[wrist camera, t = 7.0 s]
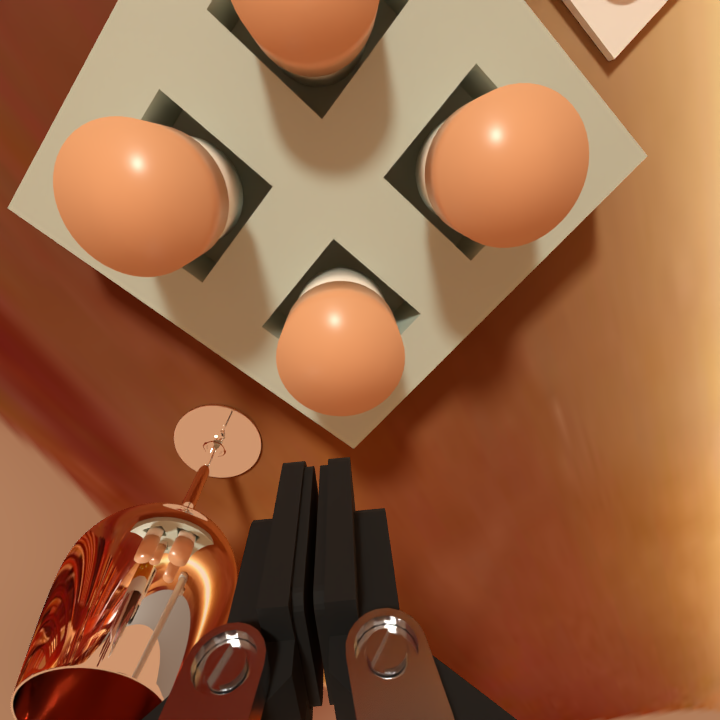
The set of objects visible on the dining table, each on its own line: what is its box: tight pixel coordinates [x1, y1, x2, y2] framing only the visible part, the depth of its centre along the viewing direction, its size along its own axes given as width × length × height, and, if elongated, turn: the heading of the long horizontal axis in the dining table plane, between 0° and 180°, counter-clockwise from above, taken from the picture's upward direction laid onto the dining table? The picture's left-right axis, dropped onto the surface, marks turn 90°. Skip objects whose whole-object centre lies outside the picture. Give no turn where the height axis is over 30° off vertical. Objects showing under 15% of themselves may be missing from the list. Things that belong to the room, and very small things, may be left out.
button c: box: [276, 267, 405, 416], centre depth 22 cm, size 6×6×7 cm
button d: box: [53, 116, 243, 277], centre depth 20 cm, size 6×6×7 cm
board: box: [8, 0, 647, 449], centre depth 24 cm, size 22×22×5 cm
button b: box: [231, 0, 379, 87], centre depth 19 cm, size 6×6×7 cm
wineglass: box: [11, 404, 261, 720], centre depth 25 cm, size 8×8×18 cm
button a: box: [415, 83, 589, 248], centre depth 20 cm, size 6×6×7 cm
